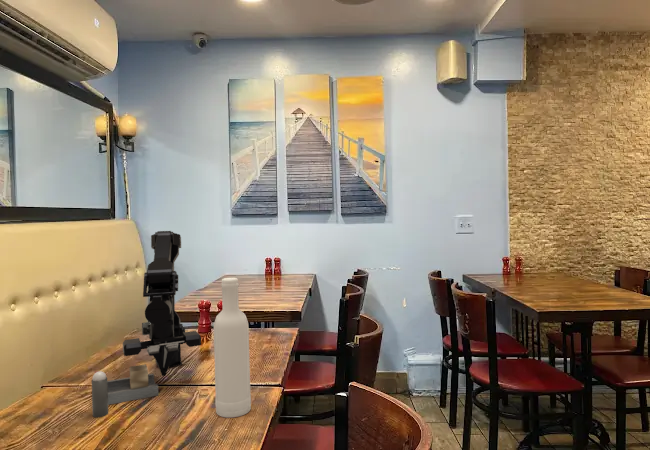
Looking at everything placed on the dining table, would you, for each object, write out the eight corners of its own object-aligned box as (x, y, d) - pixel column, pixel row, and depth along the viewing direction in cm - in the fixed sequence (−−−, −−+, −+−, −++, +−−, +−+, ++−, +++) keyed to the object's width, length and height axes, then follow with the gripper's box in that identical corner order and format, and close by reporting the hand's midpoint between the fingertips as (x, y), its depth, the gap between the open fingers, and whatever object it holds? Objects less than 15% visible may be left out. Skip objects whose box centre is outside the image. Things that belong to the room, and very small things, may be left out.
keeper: (146, 383, 121) (146, 364, 121) (148, 388, 117) (147, 369, 117) (130, 386, 119) (129, 366, 119) (131, 391, 115) (130, 371, 115)
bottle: (257, 405, 108) (254, 276, 107) (240, 420, 101) (236, 281, 100) (227, 401, 111) (223, 275, 110) (208, 415, 103) (204, 280, 102)
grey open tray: (153, 382, 125) (153, 362, 124) (158, 395, 116) (157, 373, 115) (95, 392, 118) (94, 371, 118) (95, 407, 109) (94, 383, 109)
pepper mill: (108, 410, 107) (106, 368, 107) (108, 415, 105) (107, 372, 104) (92, 413, 106) (91, 370, 106) (92, 418, 103) (91, 375, 103)
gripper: (192, 306, 132) (194, 361, 132) (120, 314, 124) (122, 372, 124) (200, 313, 122) (202, 373, 122) (123, 322, 114) (125, 386, 114)
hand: (163, 375), depth 121 cm, fingers closed
